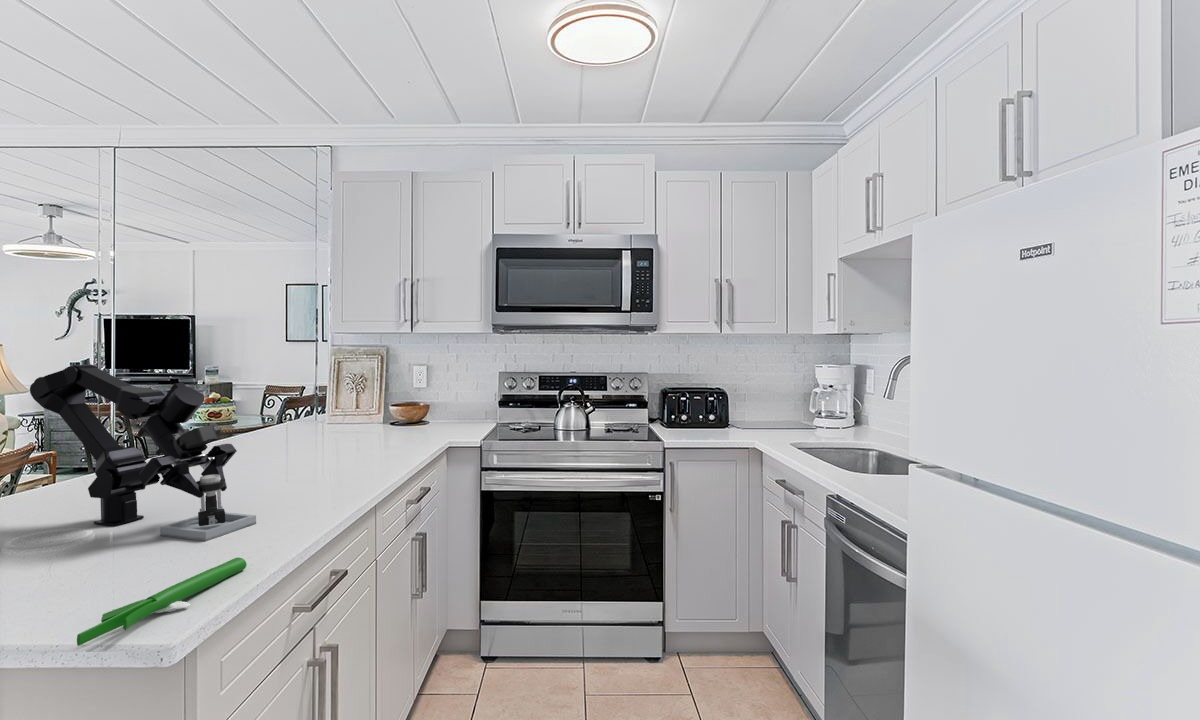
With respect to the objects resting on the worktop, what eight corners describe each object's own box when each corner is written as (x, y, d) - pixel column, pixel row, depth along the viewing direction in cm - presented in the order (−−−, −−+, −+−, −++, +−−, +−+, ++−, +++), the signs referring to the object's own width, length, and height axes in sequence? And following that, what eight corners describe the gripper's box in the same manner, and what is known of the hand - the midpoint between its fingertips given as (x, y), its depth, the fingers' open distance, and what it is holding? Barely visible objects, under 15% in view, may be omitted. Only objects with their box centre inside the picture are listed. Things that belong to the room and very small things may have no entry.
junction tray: (160, 535, 123) (160, 527, 123) (213, 519, 135) (212, 511, 135) (206, 541, 120) (205, 532, 120) (256, 523, 132) (256, 515, 132)
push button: (189, 530, 123) (187, 482, 123) (188, 523, 128) (186, 476, 127) (227, 524, 127) (225, 477, 126) (225, 517, 132) (224, 471, 131)
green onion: (227, 575, 105) (60, 655, 75) (228, 556, 105) (61, 628, 75) (254, 576, 105) (97, 657, 75) (254, 557, 105) (98, 630, 75)
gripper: (149, 417, 119) (195, 477, 116) (229, 407, 137) (270, 459, 134) (118, 455, 121) (163, 514, 119) (201, 440, 139) (241, 491, 137)
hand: (213, 493), depth 127 cm, fingers closed on push button, 5 cm apart
